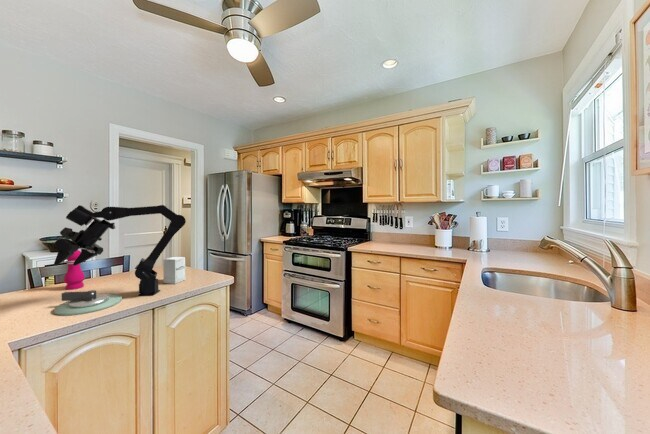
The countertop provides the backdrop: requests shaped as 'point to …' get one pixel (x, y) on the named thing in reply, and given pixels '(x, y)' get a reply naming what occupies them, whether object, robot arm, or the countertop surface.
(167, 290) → the countertop surface
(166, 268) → the supplement box
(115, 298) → the dial plate
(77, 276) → the pepper mill
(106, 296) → the dial
